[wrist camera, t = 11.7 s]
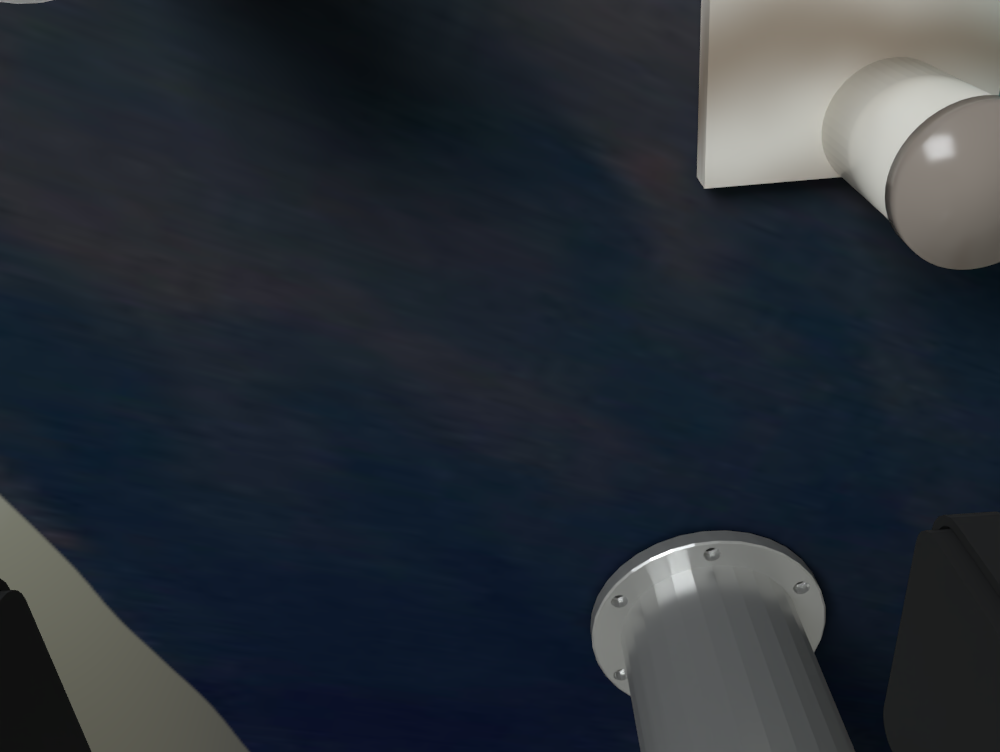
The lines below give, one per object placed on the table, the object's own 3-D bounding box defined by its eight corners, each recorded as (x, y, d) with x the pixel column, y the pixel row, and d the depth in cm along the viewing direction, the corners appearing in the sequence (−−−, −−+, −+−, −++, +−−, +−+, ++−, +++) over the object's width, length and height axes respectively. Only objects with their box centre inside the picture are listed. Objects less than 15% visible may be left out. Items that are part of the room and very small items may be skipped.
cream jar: (945, 184, 37) (1052, 262, 30) (810, 196, 37) (886, 275, 30) (968, 45, 34) (1091, 94, 27) (822, 58, 35) (909, 110, 28)
